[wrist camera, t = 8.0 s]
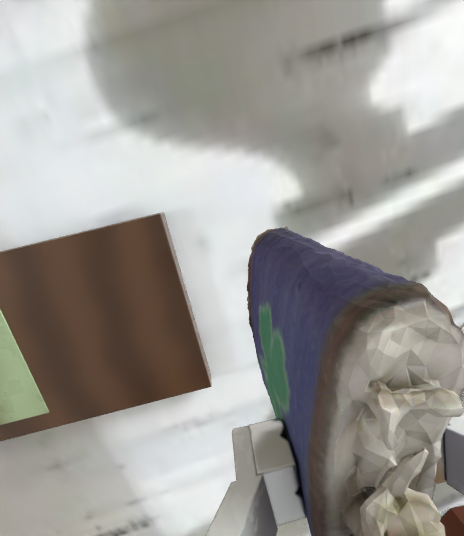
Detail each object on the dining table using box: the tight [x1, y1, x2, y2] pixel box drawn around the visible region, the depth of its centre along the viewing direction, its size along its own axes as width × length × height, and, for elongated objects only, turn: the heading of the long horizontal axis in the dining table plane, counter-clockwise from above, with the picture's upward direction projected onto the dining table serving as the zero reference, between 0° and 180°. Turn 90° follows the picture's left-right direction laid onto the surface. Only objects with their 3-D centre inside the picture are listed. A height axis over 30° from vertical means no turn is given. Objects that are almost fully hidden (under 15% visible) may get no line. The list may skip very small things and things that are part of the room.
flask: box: [247, 227, 464, 536], centre depth 9 cm, size 9×3×11 cm, turn 7°
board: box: [0, 212, 211, 441], centre depth 22 cm, size 20×14×2 cm
